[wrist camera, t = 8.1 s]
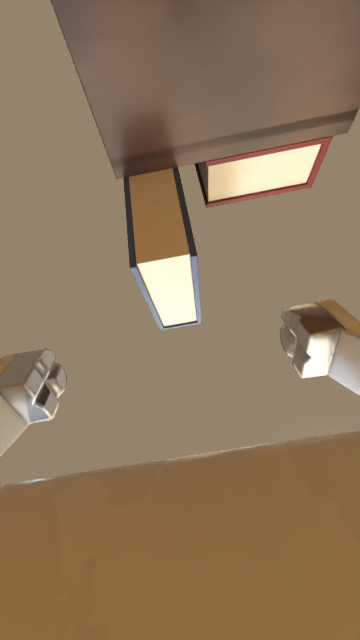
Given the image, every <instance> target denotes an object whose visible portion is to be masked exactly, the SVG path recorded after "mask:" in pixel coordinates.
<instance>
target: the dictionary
mask: <svg viewBox="0 0 360 640" xmlns="http://www.w3.org/2000/svg"><path fill="white" fill-rule="evenodd" d="M332 138H333V136H329V137H324V138H319V139H314V140H309V141H304V142H299V143H294V144H289V145H284V146H279V147H274V148H270V149H265V150H260V151H255V152H250V153H245V154H240V155H235V156H230V157H225V158H220V159H215V160H210V161H205V162H200V163H195V167H196V171H197V175H198V178H199V182H200V186H201V190H202V193H203V197H204V201H205V205H206V208H208V207H213V206H218V205H223V204H229V203H234V202H239V201H244V200H249V199H254V198H260V197H264V196H270V195H275V194H280V193H285V192H290V191H296V190H301V189H306V188H311V187H312V185H313V182H314V180H315V178H316V175H317V173H318V170H319V168H320V166H321V163H322V161H323V158H324V156H325V154H326V152H327V149H328V147H329V145H330V142H331V140H332Z"/></svg>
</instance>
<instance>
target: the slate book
mask: <svg viewBox="0 0 360 640" xmlns="http://www.w3.org/2000/svg"><path fill="white" fill-rule="evenodd" d="M124 191H125V205H126V220H127V234H128V248H129V262H130V269H131V271H132V274H133V276H134V278H135V280H136V282H137V284H138V286H139V288H140V290H141V292H142V294H143V296H144V298H145V300H146V302H147V304H148V306H149V308H150V310H151V312H152V314H153V316H154V318H155V320H156V322H157V324H158V326H159V328H160V330H167V329H173V328H179V327H184V326H189V325H196V324H201V323H202V321H201V306H200V305H201V304H200V290H199V274H198V259H197V252H196V247H195V243H194V238H193V234H192V229H191V225H190V220H189V215H188V211H187V206H186V202H185V197H184V192H183V188H182V183H181V179H180V174H179V170H178V167H175V168H170V169H165V170H160V171H155V172H150V173H145V174H140V175H135V176H130V177H125V178H124Z"/></svg>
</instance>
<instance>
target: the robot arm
mask: <svg viewBox="0 0 360 640" xmlns="http://www.w3.org/2000/svg"><path fill="white" fill-rule="evenodd" d="M281 318H282V319H283V321H284V322H285V323H284V324H283V326H282V327H281V328H280V339H281V344H282V346H283V349H284V351H285V352H286V354H288V355H289V356H291V357H293V363H292V364H293V365H294V367H295V368H296V370H297V372H298V373H299V375H300V376H301V378H308V377H316V376H323V375H329V376H330V377H331V378H333V379H334V380H336V381H337V382H339V383H341V384H342V385H344V386H345V387H347V388H349V389H350V390H352V391H353V392H355V393H356V394H358V395H360V322H359V321H358V320H357V319H355V318H354V317H353V316H352V315H351V314H350V313H348V312H347V311H346V310H345V309H344V308H343V307H341V306H340V305H339V304H338V303H337V302H336V301H334V300H333V299H325V300H320V301H315V302H313V303H307V304H301V305H296V306H290V307H285V308H283V311H282V316H281ZM55 359H56V356H55V355H54V353H53V352H52V350H49V349H44V350H37V351H30V352H24V353H19V354H12V355H6V356H4V357H2V358H1V359H0V457H1V456H2V454H3V453H4V452H5V451H6V450H7V449H8V448H9V446H10V445H11V444H12V443H13V442H14V441H15V440H16V439H17V437H18V436H19V435H20V434H21V433H22V432H23V431H24V430H25V428H27V426H28V424H31V423H36V422H41V421H46V420H51V419H53V418H54V415H55V413H56V410H57V408H58V405H59V403H60V402H59V400H58V397H59V396H60V394H62V393H63V392H64V390H65V387H66V380H67V376H66V373H65V370H64V369H63V367H62V366H61V365H59V364H58V363H56V362H55ZM0 640H360V430H353V431H347V432H340V433H334V434H327V435H321V436H315V437H308V438H302V439H295V440H289V441H283V442H276V443H269V444H263V445H257V446H250V447H244V448H237V449H231V450H225V451H218V452H211V453H205V454H199V455H192V456H185V457H179V458H172V459H166V460H160V461H153V462H147V463H140V464H134V465H128V466H121V467H115V468H108V469H102V470H95V471H89V472H82V473H76V474H69V475H63V476H57V477H50V478H44V479H37V480H31V481H25V482H18V483H11V484H5V485H0Z"/></svg>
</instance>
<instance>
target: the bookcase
mask: <svg viewBox="0 0 360 640" xmlns="http://www.w3.org/2000/svg"><path fill="white" fill-rule="evenodd" d="M51 3H52V5H53V7H54V11H55V13H56V16H57V19H58V22H59V24H60V27H61V30H62V32H63V35H64V38H65V40H66V43H67V46H68V48H69V51H70V54H71V57H72V59H73V62H74V64H75V67H76V70H77V73H78V76H79V78H80V81H81V84H82V87H83V89H84V92H85V95H86V97H87V100H88V103H89V106H90V108H91V111H92V114H93V116H94V119H95V122H96V125H97V127H98V130H99V133H100V135H101V138H102V141H103V143H104V146H105V149H106V151H107V154H108V157H109V160H110V163H111V165H112V168H113V171H114V174H115V176H116V179H120V178H125V177H130V176H135V175H140V174H145V173H150V172H155V171H160V170H165V169H170V168H175V167H180V166H185V165H190V164H195V163H200V162H205V161H210V160H215V159H220V158H225V157H230V156H235V155H240V154H245V153H250V152H255V151H260V150H265V149H270V148H274V147H279V146H284V145H289V144H294V143H299V142H304V141H309V140H314V139H319V138H324V137H329V136H334V135H339V134H344V133H347V132H348V131H349V129H350V127H351V125H352V122H353V121H354V118H355V116H356V114H357V112H358V110H359V107H360V0H51Z"/></svg>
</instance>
